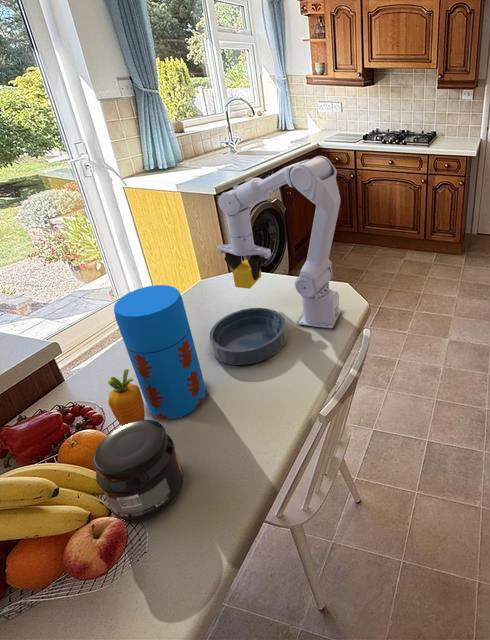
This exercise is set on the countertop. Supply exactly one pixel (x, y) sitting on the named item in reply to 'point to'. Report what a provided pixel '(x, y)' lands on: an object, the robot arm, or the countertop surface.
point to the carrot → (126, 400)
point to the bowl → (248, 336)
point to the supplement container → (138, 470)
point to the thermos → (161, 350)
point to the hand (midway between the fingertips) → (248, 277)
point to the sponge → (244, 275)
